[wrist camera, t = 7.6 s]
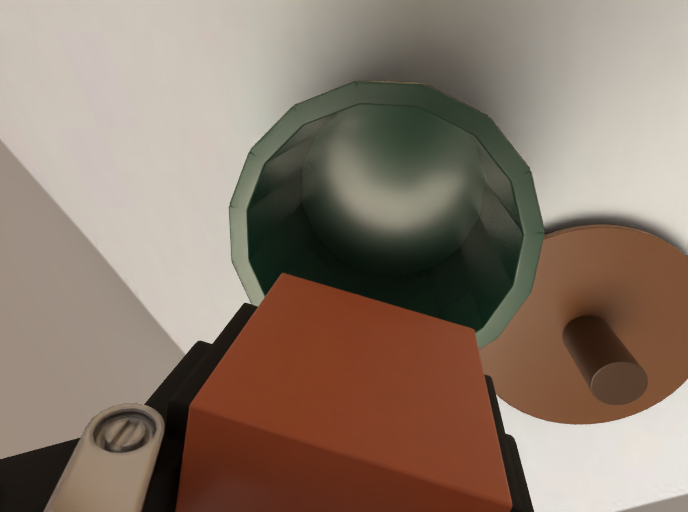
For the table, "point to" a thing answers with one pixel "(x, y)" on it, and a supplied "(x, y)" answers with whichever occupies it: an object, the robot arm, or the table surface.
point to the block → (343, 413)
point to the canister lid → (596, 328)
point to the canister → (391, 205)
